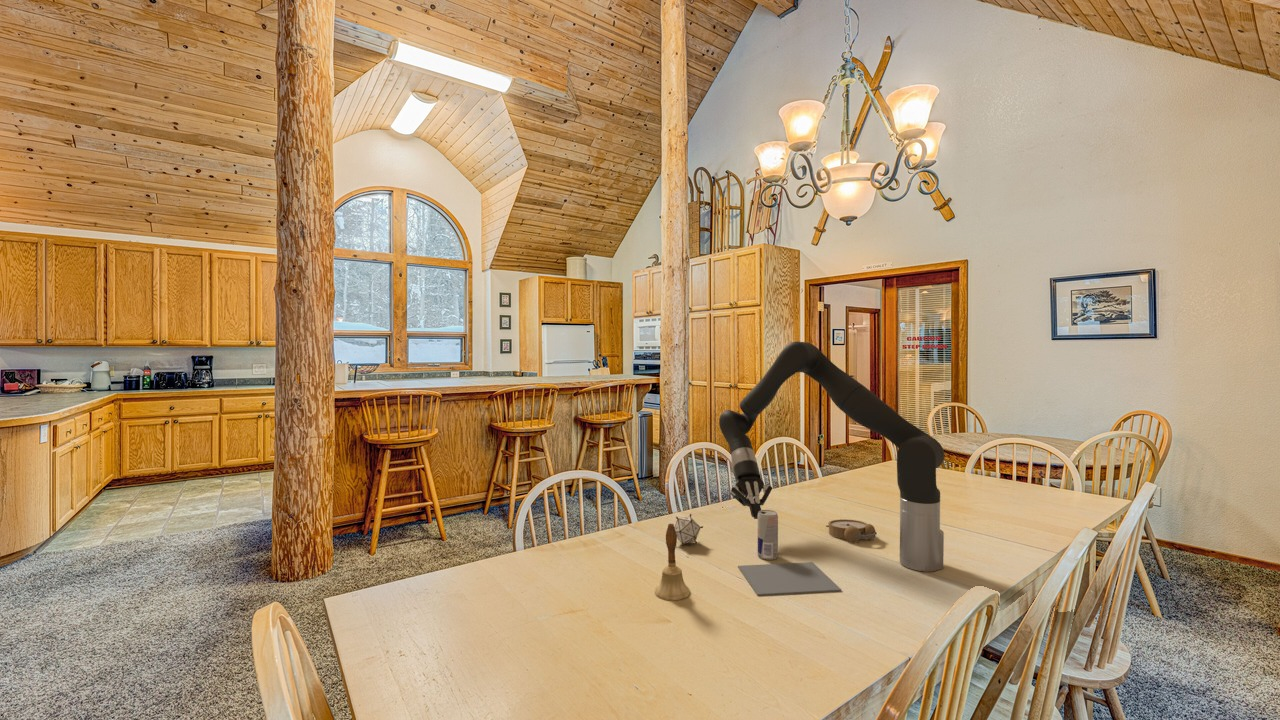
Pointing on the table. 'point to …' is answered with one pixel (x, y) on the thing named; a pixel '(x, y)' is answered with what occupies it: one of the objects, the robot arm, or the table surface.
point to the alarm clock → (851, 530)
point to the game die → (687, 530)
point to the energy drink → (767, 534)
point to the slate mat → (787, 578)
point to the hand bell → (672, 573)
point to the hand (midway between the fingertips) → (757, 517)
